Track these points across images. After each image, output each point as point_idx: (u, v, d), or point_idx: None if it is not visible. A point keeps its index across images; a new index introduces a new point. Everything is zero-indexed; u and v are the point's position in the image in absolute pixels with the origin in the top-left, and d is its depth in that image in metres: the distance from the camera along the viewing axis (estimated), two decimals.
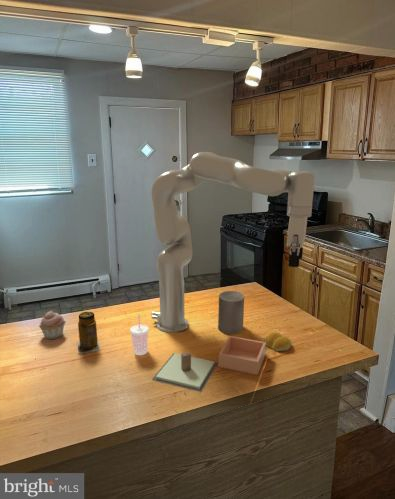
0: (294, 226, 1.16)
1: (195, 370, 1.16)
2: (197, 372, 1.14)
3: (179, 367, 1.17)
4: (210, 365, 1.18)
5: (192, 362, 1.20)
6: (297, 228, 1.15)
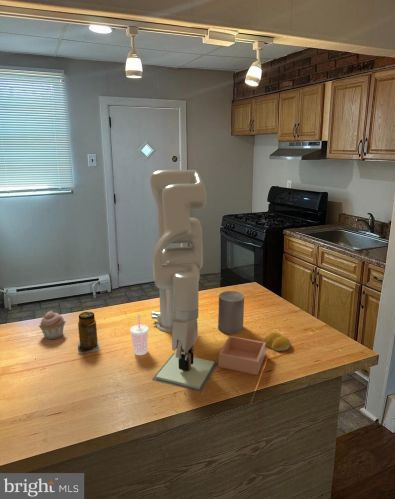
0: (177, 331, 1.08)
1: (195, 370, 1.16)
2: (197, 372, 1.14)
3: None
4: (210, 365, 1.18)
5: None
6: (180, 333, 1.08)
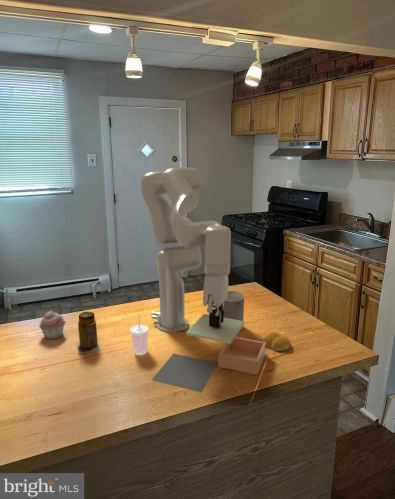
0: (209, 285, 1.08)
1: (225, 328, 1.15)
2: (227, 330, 1.14)
3: (208, 325, 1.17)
4: (240, 324, 1.17)
5: None
6: (212, 288, 1.07)
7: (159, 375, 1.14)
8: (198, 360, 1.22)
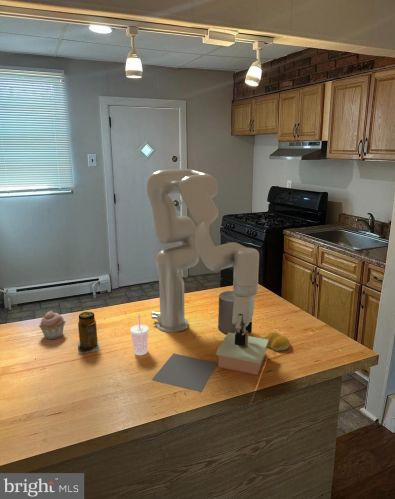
0: (238, 305, 1.13)
1: (252, 347, 1.20)
2: (254, 349, 1.19)
3: None
4: (265, 343, 1.23)
5: None
6: (241, 307, 1.12)
7: (159, 375, 1.14)
8: (198, 360, 1.22)
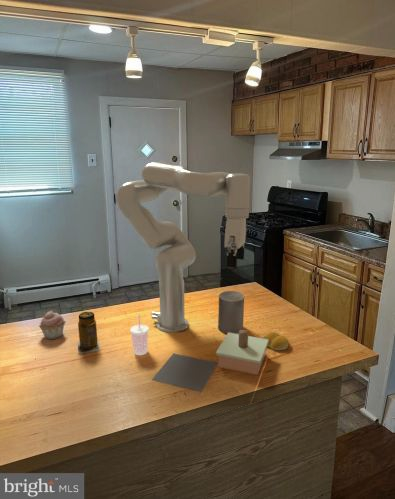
0: (230, 227, 1.18)
1: (252, 347, 1.20)
2: (254, 349, 1.19)
3: (235, 344, 1.22)
4: (265, 343, 1.23)
5: None
6: (233, 229, 1.18)
7: (159, 375, 1.14)
8: (198, 360, 1.22)
